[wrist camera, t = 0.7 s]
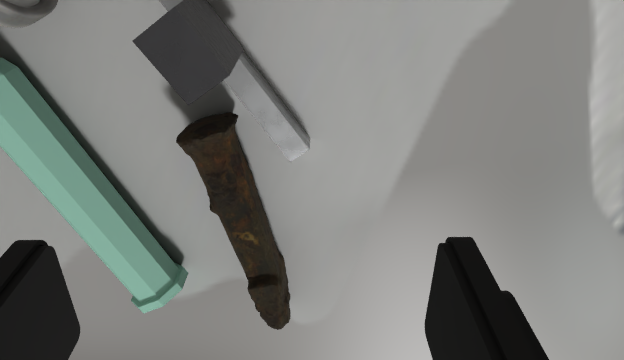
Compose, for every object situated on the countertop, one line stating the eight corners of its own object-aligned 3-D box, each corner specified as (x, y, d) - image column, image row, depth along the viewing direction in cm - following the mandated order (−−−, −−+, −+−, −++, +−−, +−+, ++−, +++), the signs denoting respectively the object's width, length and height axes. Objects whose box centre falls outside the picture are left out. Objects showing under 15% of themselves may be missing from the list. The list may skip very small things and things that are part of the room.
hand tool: (184, 115, 40) (165, 145, 35) (238, 104, 39) (226, 133, 35) (257, 304, 51) (250, 346, 46) (300, 298, 51) (297, 339, 46)
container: (-81, 90, 33) (135, 323, 44) (-3, 48, 33) (190, 288, 44) (-49, 79, 38) (136, 290, 49) (17, 42, 39) (186, 259, 50)
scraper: (109, -144, 31) (43, -158, 23) (317, 132, 41) (315, 183, 33) (74, -108, 32) (-1, -111, 24) (284, 152, 42) (276, 205, 34)
